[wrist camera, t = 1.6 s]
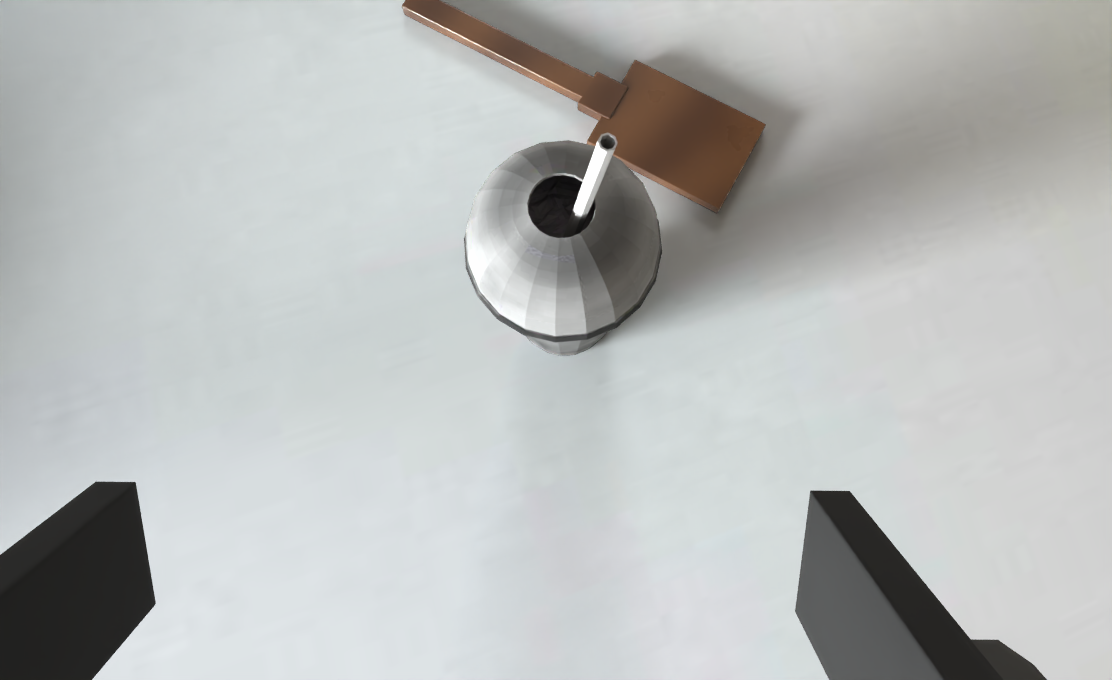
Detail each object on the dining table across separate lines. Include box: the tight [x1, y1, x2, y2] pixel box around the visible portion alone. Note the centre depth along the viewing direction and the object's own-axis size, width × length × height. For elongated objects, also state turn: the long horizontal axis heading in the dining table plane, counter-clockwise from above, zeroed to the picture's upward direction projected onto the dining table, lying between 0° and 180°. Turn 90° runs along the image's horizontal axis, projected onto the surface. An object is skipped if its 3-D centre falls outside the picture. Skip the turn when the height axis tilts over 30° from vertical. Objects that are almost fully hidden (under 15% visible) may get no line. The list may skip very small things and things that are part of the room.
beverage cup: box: [464, 133, 662, 356], centre depth 28 cm, size 7×7×20 cm
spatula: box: [402, 0, 766, 213], centre depth 40 cm, size 21×6×1 cm, turn 61°
